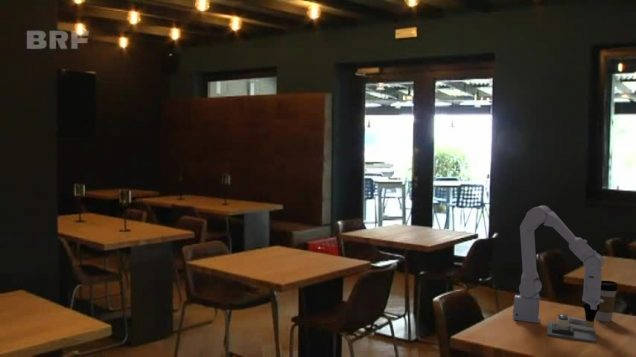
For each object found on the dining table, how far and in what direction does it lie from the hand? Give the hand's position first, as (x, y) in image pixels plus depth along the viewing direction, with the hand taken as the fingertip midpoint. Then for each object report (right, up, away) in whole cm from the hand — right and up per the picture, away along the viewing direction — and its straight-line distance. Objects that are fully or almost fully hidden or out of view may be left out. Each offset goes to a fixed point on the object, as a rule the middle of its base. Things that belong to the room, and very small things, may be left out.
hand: (589, 323), depth 223 cm
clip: (-5, 0, +1) cm, 5 cm away
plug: (-11, -3, -3) cm, 12 cm away
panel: (-8, -3, -2) cm, 9 cm away
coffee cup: (+12, -2, +16) cm, 20 cm away
